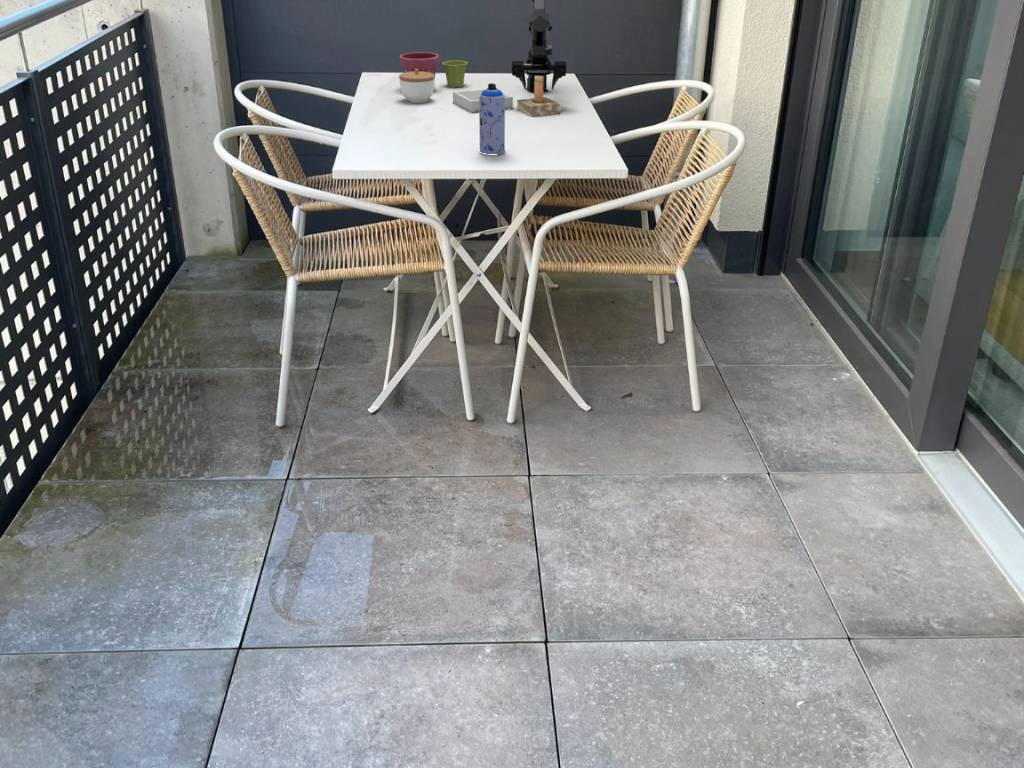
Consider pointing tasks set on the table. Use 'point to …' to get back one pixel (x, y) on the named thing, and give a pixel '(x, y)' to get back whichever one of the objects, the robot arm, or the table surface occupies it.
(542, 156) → the table surface
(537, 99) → the pin
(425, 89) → the lidded bowl
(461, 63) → the plant pot
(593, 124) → the table surface
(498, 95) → the aerosol can
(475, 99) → the tray
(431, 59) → the plant pot
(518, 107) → the hitch block
